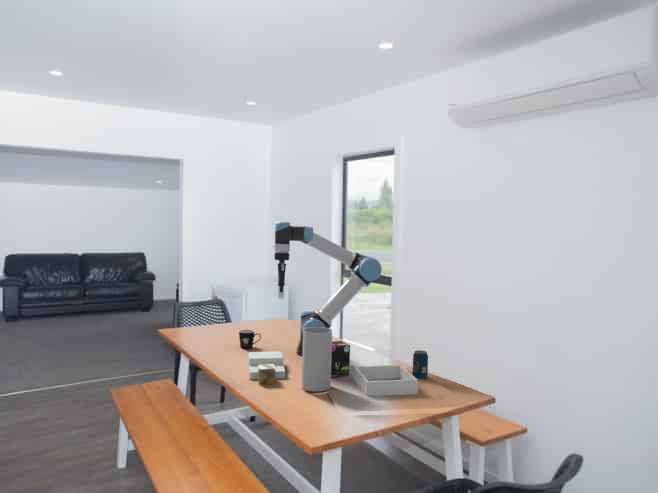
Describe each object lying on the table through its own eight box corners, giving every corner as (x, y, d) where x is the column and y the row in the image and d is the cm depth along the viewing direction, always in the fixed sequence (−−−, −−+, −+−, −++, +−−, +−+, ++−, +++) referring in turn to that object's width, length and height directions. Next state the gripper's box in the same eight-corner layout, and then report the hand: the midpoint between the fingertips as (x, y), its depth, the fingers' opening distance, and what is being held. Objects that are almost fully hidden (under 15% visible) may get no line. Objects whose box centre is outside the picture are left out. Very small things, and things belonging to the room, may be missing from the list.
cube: (275, 368, 210) (274, 384, 211) (274, 364, 217) (273, 379, 217) (259, 369, 209) (258, 384, 209) (258, 364, 216) (258, 379, 216)
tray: (399, 377, 224) (400, 365, 224) (417, 394, 203) (418, 380, 202) (353, 379, 220) (353, 366, 220) (366, 396, 198) (366, 381, 198)
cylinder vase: (320, 394, 199) (322, 334, 198) (295, 388, 206) (297, 330, 205) (336, 386, 210) (337, 329, 209) (312, 381, 216) (313, 325, 215)
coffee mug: (235, 349, 267) (235, 331, 267) (243, 346, 275) (244, 329, 275) (253, 352, 263) (254, 334, 263) (261, 348, 271) (262, 331, 271)
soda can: (409, 375, 228) (410, 350, 228) (422, 374, 231) (423, 349, 230) (417, 380, 222) (418, 354, 221) (430, 378, 224) (431, 353, 224)
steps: (280, 364, 242) (280, 351, 241) (285, 378, 219) (285, 364, 219) (248, 364, 239) (248, 352, 238) (249, 379, 216) (249, 365, 216)
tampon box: (329, 378, 221) (330, 346, 220) (320, 372, 229) (321, 342, 229) (349, 375, 226) (350, 344, 225) (340, 370, 234) (341, 340, 234)
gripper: (273, 251, 251) (272, 296, 252) (275, 252, 238) (274, 300, 239) (288, 251, 253) (286, 296, 253) (290, 253, 240) (289, 300, 241)
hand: (280, 298), depth 246 cm, fingers closed
